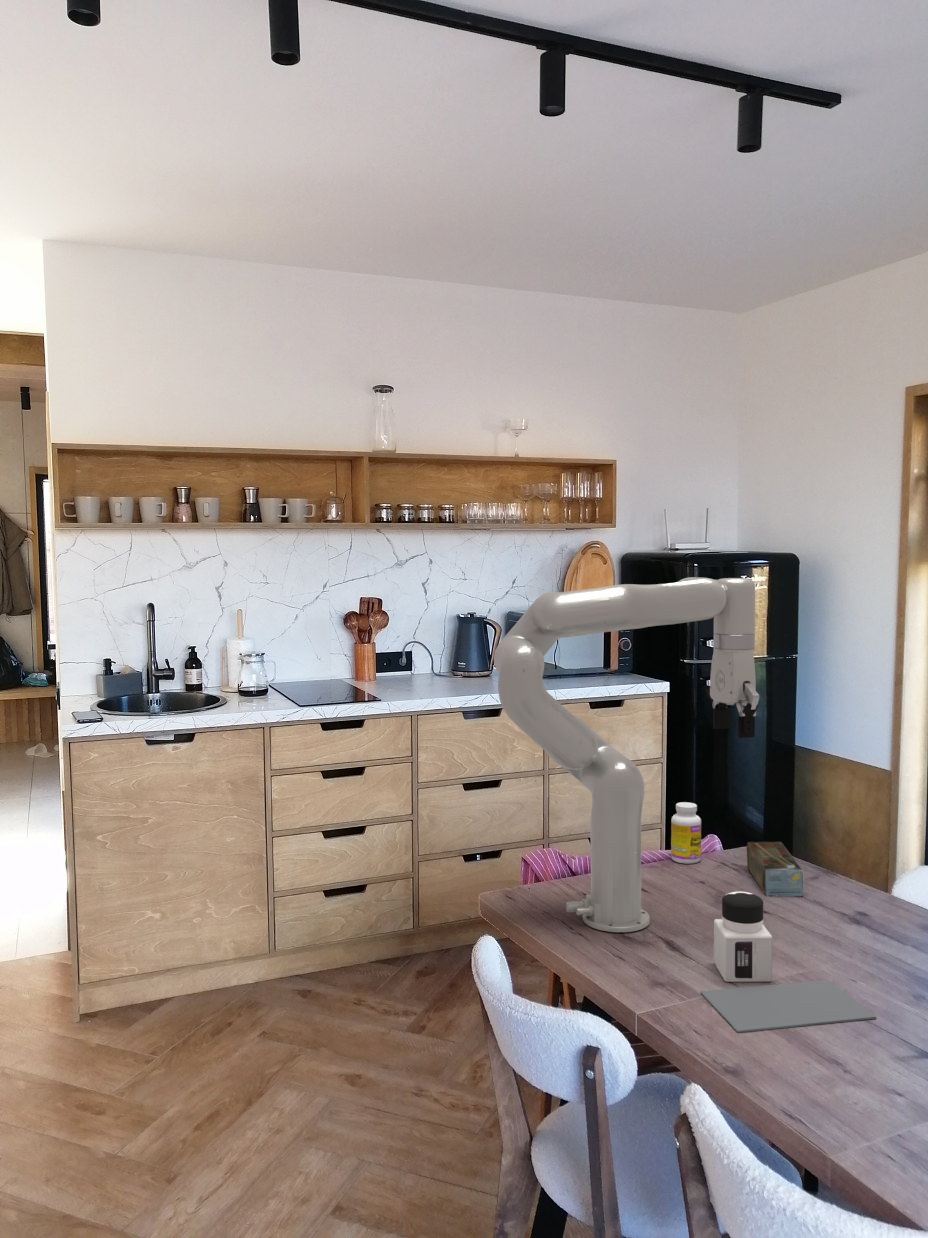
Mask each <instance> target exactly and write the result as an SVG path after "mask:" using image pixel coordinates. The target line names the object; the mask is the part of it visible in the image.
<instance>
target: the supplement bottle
mask: <svg viewBox="0 0 928 1238" xmlns="http://www.w3.org/2000/svg"><path fill="white" fill-rule="evenodd" d="M675 810H676V813H675V814H673V816H671V821H670V822H671V823H670V824H671V827H670V829H671V830H670V831H671V833H670V834H671V837H670V841H671V842H670V845H671V846H670V847H671V848H670V855H671V856H670V858H671V859H672V861H674V862H676V863H679V864H686V865H687V864H688V865H689V864H690V865H691V864H697V863H699V862H700V861H701V859H702V858H701V857H702V818H701V817H700V816H699V815H697V814H696V813H697V811H698V805H697V804H696V803H694V802H687V801H683V802H682V801H681V802H677V803H676V804H675Z"/></svg>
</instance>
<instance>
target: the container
mask: <svg viewBox="0 0 928 1238" xmlns="http://www.w3.org/2000/svg"><path fill="white" fill-rule="evenodd" d="M721 899H722V900H721V918H715V919H714V921H713V963H714V965H715V967H716V968H717V970H718V972H719V973H720V975H721V978H723V981H725V982H726V983H727V982H729V983H730V982H731V983H732V982H733V983H742V982H743V983H744V982H746V983H747V982H748V983H749V982H750V983H757V982H759V983H760V982H761V983H763V982H764V983H766V982H768V983H770V982H772V980H773V935H772V934H771V933H770V932H769V931H768V929H767V928H766V927H765V925H764V900H763V899H762V898H761V897H760V896H759V895H756V894H755V893H752V892H748V891H732V892H728V893H726V894H724V895H723V897H722V898H721Z"/></svg>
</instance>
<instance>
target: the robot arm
mask: <svg viewBox="0 0 928 1238" xmlns="http://www.w3.org/2000/svg"><path fill="white" fill-rule="evenodd" d="M710 619H713V654H712V657H711V658H712V659H711V666H710V678H709V679H710V681H709V696H710V698H711V700H712V703H711V704H712V708H713V711H712V713H713V714H712V715H713V721H712V722H713V724H712V725H713V727H712V728H713V729H714V730H727V729H730V725H731V724H730V723H731V718H730V717H731V716H730V715H731V713H730V711H731V710H730V707H728V706H734V705H736V708H737V711H738V714H739V715H737V717H736V718H737V723H736V724H737V725H736V726H737V732H736V733H737V735H736V736H737V738H739V739H745V738H747V739H750V738H755V728H756V725H755V722H756V721H755V720H756V719H755V718H756V716H757V710H758V708H759V706H758V705H759V701H760V693H758V692H757V691H756V690H757V689H756V685H757V684H756V680H757V679H756V666H755V657H754V652H755V651H756V650H755V649H756V648H755V647H756V646H755V645H756V641H755V640H756V636H755V635H756V634H755V633H756V585H755V582H754V581H753V580H752V578H751V579H750V578H745V577H728V578H727V577H724V578H719V579H713V578H708V577H700V576H699V577H694V576H692V577H691V576H690V577H685V578H682V579H680V580H678V581H676V582H668V583H658V584H656V583H655V584H637V583H636V584H633V583H631V584H630V583H628V584H627V583H624V584H622V583H621V584H613V585H606V586H599V587H593V588H591V587H590V588H586V589H585V588H584V589H576V590H568V591H561V592H560V591H559V592H558V591H549V592H548V591H547V592H545V593H543V594H541V595H540V596H538V597H537V598H536V599H535V600H534V601H533V603H532V604H531V605H530V606H529V607H528V609H526V611H525V612H524V613H523V614H522V616H521V617H520V618H519V619H518V620H517V622H516V623H515V624H514V626H512V627H511V629H510V630H509V631H508V632H507V633H506V634H505V635H504V637H503V638H502V639H501V640H500V642H499V643H498V645H497V646H496V649H495V650H494V654H493V664H494V666H495V669H496V671H497V673H498V680H497V691H498V696H499V701H500V704H501V706H502V709H503V711H504V712H505V714H506V715H507V717H508V718H509V719H510V720H511V721H512V722H513V724H515V725H516V726H517V727H518V728H519V729H520V730H521V731H522V732H523V733H524V734H525V735H527V736H528V737H529V738H530V739H531V740H532V741H533V742H534V743H536V744H537V745H538V746H539V747H540V748H541V749H542V750H544V752H545V753H546V754H547V755H548V756H549V758H550V759H551V760H552V761H553V762H555V764H557V765H558V766H560V767H562V768H563V769H564V770H565V771H566V772H568V773H569V774H570V775H571V776H572V777H574V778H575V779H576V780H577V781H579V783H581V785H583V786H584V787H585V788H586V789H587V790H589V791H590V793H591V794H592V798H591V799H592V804H591V812H590V826H589V832H590V834H589V837H590V838H589V840H590V893H587V894H586V895H585V897H586V898H584V899H581V901H566V902H565V909H566V913H573V912H574V913H575V912H576V915H577V916H582V921H583V922H584V923H585V924H586V925H587V926H589V927H591V928H593V929H595V930H599V931H604V932H608V933H632V932H637V931H640V930H641V931H642V930H643V929H645V928H646V927H648V926H649V925H650V922H651V921H650V920H651V919H650V918H651V916H650V915H649V913H648V912H647V911H646V910H644V909H643V908H642V816H643V815H642V814H643V806H644V798H645V783H644V782H645V781H644V778H643V775H642V772H641V770H640V768H638V766H637V765H636V764H635V763H634V762H633V761H632V760H631V759H629V758H627V757H626V756H625V755H623V754H622V753H621V752H619V751H618V750H617V749H616V748H615V747H613V746H612V745H611V744H610V743H609V742H607V740H605V739H604V738H603V737H601V736H600V735H599V734H598V733H597V732H596V731H595V730H593V729H592V728H591V727H590V725H589V724H588V723H587V722H585V721H584V720H582V719H581V718H580V717H579V716H577V715H575V714H573V713H571V712H570V711H569V710H568V709H567V708H565V707H564V706H563V705H562V704H561V703H560V702H559V701H558V700H557V699H556V698H555V697H554V696H553V695H551V694H550V693H549V692H548V691H547V689H546V688H545V685H544V682H543V681H544V680H543V676H544V670H545V656H546V654H547V653H549V651H550V650H551V649H552V647H553V646H554V645H555V644H556V642H557V641H558V639H560V638H561V639H562V638H563V639H565V638H572V637H573V638H574V637H580V636H587V635H594V634H599V633H600V634H601V633H609V632H617V631H625V630H636V629H644V628H648V627H656V626H667V625H676V624H677V625H678V624H684V623H685V624H686V623H691V622H698V621H705V620H710Z"/></svg>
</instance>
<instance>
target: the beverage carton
mask: <svg viewBox="0 0 928 1238" xmlns="http://www.w3.org/2000/svg"><path fill="white" fill-rule="evenodd" d="M746 860H747V862H746V864H747V865H746V866H747V868H748V869H749V871H750V873H751V875H752V876H753V878H754V880H755V881H756V882H757V885H758V886H759V888H760V890H761V891H762V890H763V891H764V892H763V891H762V892H763V893H764V895H765V894H766V895H768V896H767V897H770V896H769V895H775V896H774V897H790V896H802V897H803V895H804V885H803V884H804V883H803V882H804V881H803V880H804V877H803V873H804V872H803V869H802V868H801V866H800V865H799V864H798V863H799V862H797V861H796V859H795V858H794V857H793V855H792V854H791V853H790V852H789V850H788V848H787V847H786V846H785V845H784V843H783V842H782V841H764V840H763V841H747V842H746ZM766 895H765V896H766ZM776 895H777V896H776Z"/></svg>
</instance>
